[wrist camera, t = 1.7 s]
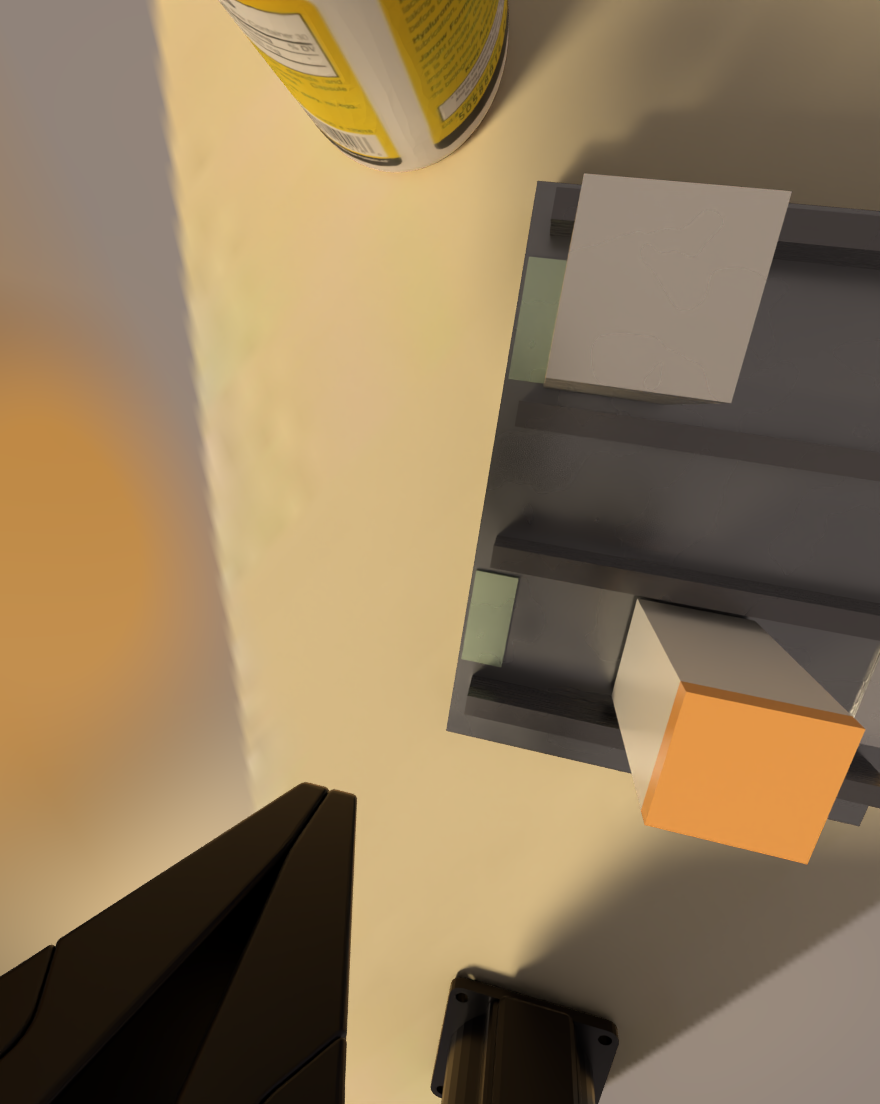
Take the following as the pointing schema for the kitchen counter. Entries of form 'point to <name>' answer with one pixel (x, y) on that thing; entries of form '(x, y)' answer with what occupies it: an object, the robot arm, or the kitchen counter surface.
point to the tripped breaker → (728, 732)
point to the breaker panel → (679, 456)
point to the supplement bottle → (384, 70)
